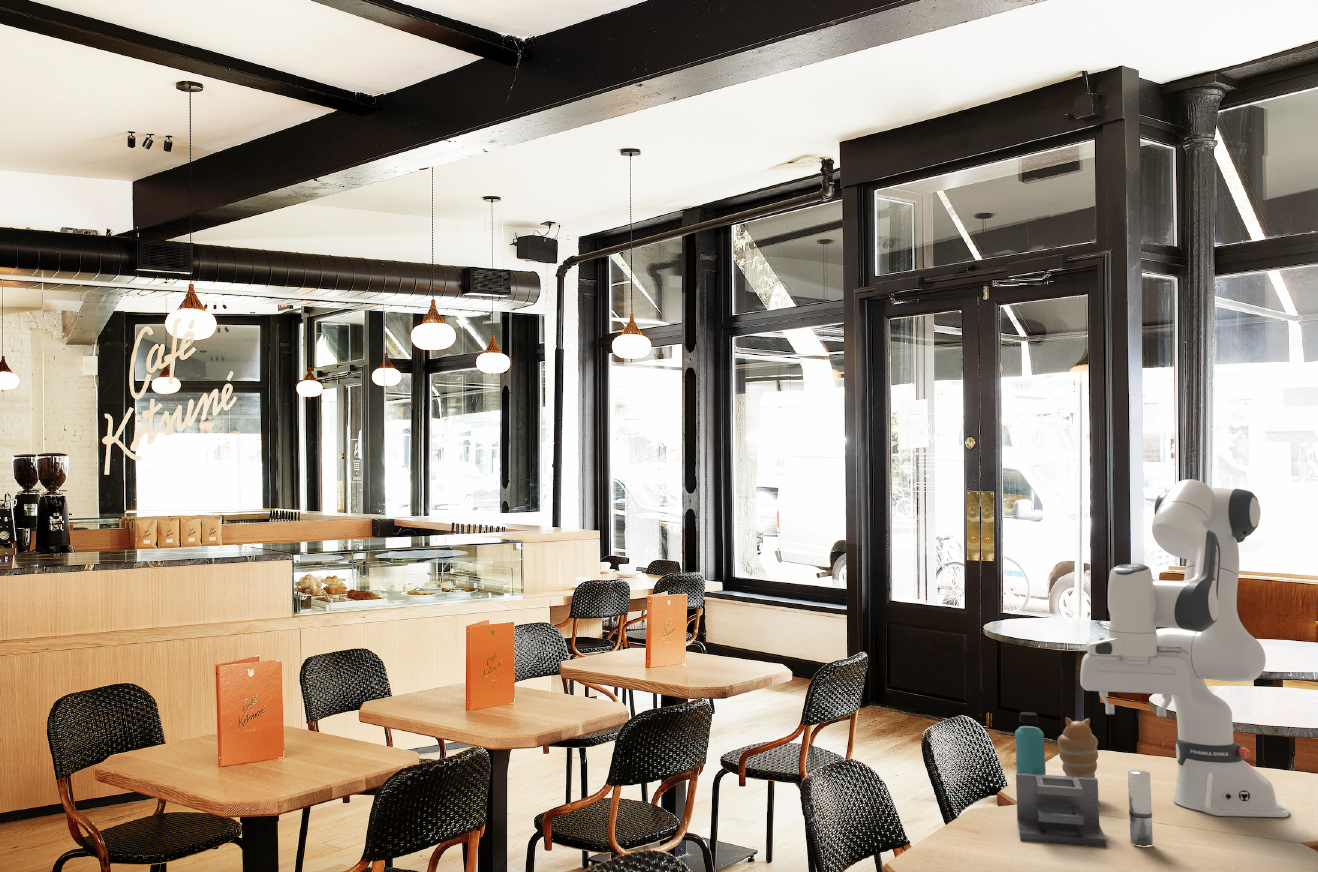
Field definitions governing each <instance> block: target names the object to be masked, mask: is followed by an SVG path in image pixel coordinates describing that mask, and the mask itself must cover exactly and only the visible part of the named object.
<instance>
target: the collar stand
mask: <svg viewBox="0 0 1318 872" xmlns="http://www.w3.org/2000/svg"><path fill="white" fill-rule="evenodd" d="M1098 781H1099V780H1098V778H1097V777H1095V778H1087V777H1071V776H1066V775H1055V774H1054V775H1053V774H1052V775H1051V774H1045V775H1040V774H1024V773H1017V772H1016V773H1015V788H1016V789H1015V790H1016V795H1015V796H1016V823H1018V824H1017V828H1018V829H1019V830H1018V829H1017V830H1018V836H1019V840H1020V841H1023V842H1034V843H1036V842H1035V841H1037V842H1038V843H1046V842H1047V844H1060V845H1061V844H1062V845H1071V844H1074V845H1073V846H1084V845H1085V846H1086V845H1088V846H1086V847H1095V846H1097V848H1107V839H1106V836H1105V833H1104V832H1103V829H1102V826H1101V825H1100V806H1099V805H1100V804H1099V803H1100V801H1099V782H1098ZM1085 846H1084V847H1085Z"/></svg>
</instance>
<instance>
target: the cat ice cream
mask: <svg viewBox="0 0 1318 872" xmlns="http://www.w3.org/2000/svg"><path fill="white" fill-rule="evenodd" d="M1090 723H1091V718H1090V717H1089V718H1085V719H1084V720H1082V721H1080V720H1074V721H1073V720H1072V719H1071V718H1070V717H1067V716H1066V717H1065V724H1066V726H1065V728H1064V729H1063V733H1062V734H1061V735H1059V736H1058V737H1057V745H1058V748H1059V749H1060V751H1059V755H1058V756H1059V758H1060V759H1059V760H1061V761H1062V765H1061V766H1062V770H1063V772H1064V774H1065V776H1071V777H1087V778H1096V771H1097V768H1098V763H1097V760H1098V758H1099V751H1098V749H1097V747H1098V745H1099V741H1098V738H1097V737H1096V736H1095V735H1094V734H1093V733H1092V729H1091V727H1090Z"/></svg>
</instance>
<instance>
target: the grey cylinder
mask: <svg viewBox="0 0 1318 872" xmlns="http://www.w3.org/2000/svg"><path fill="white" fill-rule="evenodd" d="M1127 781H1128V782H1127V784H1128V785H1127V786H1128V815H1129V834H1130V835H1129V836H1130V844H1131V843H1132V844H1135V845H1141V846H1147V845H1152V844H1153V845H1154V842H1153V841H1154V839H1153V838H1154V837H1153V819H1152V818H1153V812H1152V796H1151V795H1152V793H1151V792H1152V791H1151V787H1152V786H1151V773H1150V772H1149V771H1146V770H1141V769H1129V770H1127ZM1132 844H1131V845H1132Z"/></svg>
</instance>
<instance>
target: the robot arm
mask: <svg viewBox="0 0 1318 872" xmlns="http://www.w3.org/2000/svg"><path fill="white" fill-rule="evenodd" d="M1154 503H1155V504H1154V517H1153V521H1152V524H1151V525H1152V526H1151V528H1152V529H1151V531H1152V536H1153V538H1154V540H1155V542H1156V543H1157V545H1158V546H1159V547H1160V548H1161V549H1162V550H1164V551H1165V552H1167V553H1168V554H1169V555H1172V556H1174V557H1175V558H1179V559H1184V560H1186V562H1185V563H1186V564H1185V570H1184V575H1183V580H1167V579H1166V580H1162V579H1154V578H1153V575H1152V571H1151V568H1150V567H1149V566H1147V565H1145V564H1141V563H1127V564H1119V565H1116V566H1114V567H1112V568H1111V570H1110V572H1109V577H1108V585H1107V609H1108V612H1109V617H1110V621H1109V625H1108V635H1105V636H1102V637H1097V638H1095V639H1090V640H1088V641H1086V643H1085V649H1086V651H1087V653H1085V654H1084V655H1083V657H1082V659H1081V664H1080V673H1079V674H1080V676H1079V678H1080V679H1079V681H1080V682H1079V683H1080V686H1081V688H1083V690H1085V692H1086V691H1087V692H1091V691H1092V692H1098V695H1099V698H1101V700H1102V701H1103V703H1104V705H1105V714H1106V715H1115V714H1116V713H1115V704H1111V703H1110V702H1109V701H1108V700H1107V698H1108V697H1109V692H1110V693H1111V692H1113V693H1129V694H1130V693H1134V694H1135V693H1136V694H1154V695H1157V694H1158V695H1161V696H1162V697H1161V698H1162V699H1164V701H1162V704H1161V706H1156V716H1157V717H1159V718H1167V708H1168V707H1169V706H1170V703H1171V702H1172V700H1173V702H1174V706H1175V712H1176V713H1175V715H1176V720H1177V721H1176V722H1177V723H1176V724H1177V738H1176V743H1175V755H1176V762H1177V764H1178V767H1177V778H1176V786H1175V791H1174V795H1173V798H1172V801H1173V802H1174V803H1175V804H1177V805H1180V806H1182V807H1185V808H1186V809H1187V808H1188V809H1192V810H1194V811H1195V810H1196V811H1201V812H1204V813H1206V814H1209V815H1211V816H1212V815H1213V816H1218V817H1255V818H1256V817H1257V818H1258V817H1261V818H1265V817H1266V818H1286V817H1288V816H1289V815H1290V813H1289V808H1288V806H1287V805H1286V804H1285V803H1283V802H1282V801H1280V800H1278V799H1277V797H1276V793H1275V789H1274V786H1273V784H1272V782H1271V781H1270V780H1269V779H1268V778H1267V777H1266V776H1265V775H1264V774H1262V772H1260V771H1259V770H1257V769H1256V768H1255V767H1254V766H1252V765H1250V764H1249V763H1248V762H1246V761H1245V760H1244V759H1247V758H1249V757H1250V756H1251V751H1250V750H1249V749H1248V748H1247V747H1245V746H1242V745H1241V744H1238V743H1237V742H1235V741H1234V732H1233V731H1234V730H1233V729H1234V727H1233V712H1232V709H1231V707H1230V706H1229V705H1228V703H1227V701H1226V700H1224V699H1222V698H1221V697H1219V696H1217V695H1216V694H1215V693H1213V692H1212V691H1211V690H1210V689H1209V687H1208V686H1207V684H1206V682H1205V680H1212V681H1213V680H1214V681H1220V682H1221V681H1222V682H1229V683H1231V682H1233V683H1235V682H1247V681H1248V682H1249V681H1255V680H1257V679H1258V678H1259V677H1260V675H1262V673H1263V672H1264V670H1265V668H1266V659H1267V657H1266V652H1265V651H1264V648H1263V646H1262V645H1261V643H1260V642H1259V640H1257V638H1255V637H1253V635H1251V634H1250V633H1249V632H1248V631H1247V629H1246V628H1245V626H1244V625H1243V623H1242V622H1241V620H1240V617H1239V613H1238V603H1237V602H1238V601H1237V599H1238V598H1237V597H1238V585H1239V584H1238V583H1239V576H1240V575H1239V573H1240V550H1239V544H1240V543H1242V542H1244V541H1245V539H1246V538H1247V537H1249V536H1250V535H1251V534H1253V533H1254V532H1255V531H1256V529H1257V528H1258V527H1259V523H1260V519H1261V507H1260V503H1259V499H1258V498H1257V496H1256V495H1255V494H1254V493H1253V492H1252V491H1250V490H1247V489H1241V488H1234V489H1232V488H1231V489H1230V488H1221V487H1210V486H1209V485H1208V484H1206V483H1204V482H1203V481H1200V480H1198V479H1192V478H1191V479H1189V478H1187V479H1181V480H1180V481H1178V482H1176V483H1175V484H1174V485H1172V487H1171V488H1170V489H1169V490H1165V491H1162V492H1161V493H1160V494H1159V495H1158V496H1157V497H1156V500H1155V502H1154ZM1157 627H1159V628H1157Z"/></svg>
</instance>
